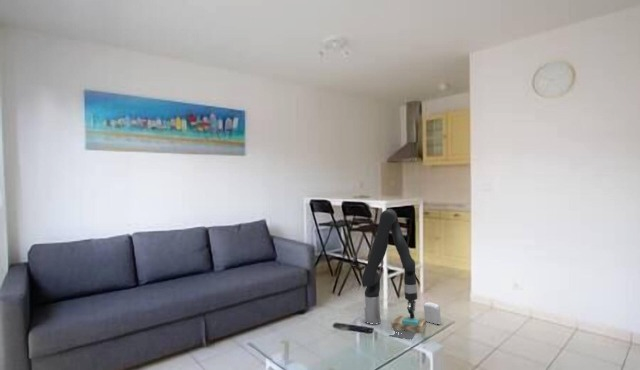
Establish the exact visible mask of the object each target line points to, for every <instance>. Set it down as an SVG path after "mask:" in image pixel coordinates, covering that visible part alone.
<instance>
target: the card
mask: <svg viewBox="0 0 640 370" xmlns="http://www.w3.org/2000/svg"><path fill="white" fill-rule="evenodd" d="M407 317H408V316H406V317H404V319H403V320H402V324H406V325H413V326H418V324H419V319H415V318H416V317H414V318H407Z"/></svg>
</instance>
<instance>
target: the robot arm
mask: <svg viewBox="0 0 640 370" xmlns="http://www.w3.org/2000/svg"><path fill="white" fill-rule="evenodd" d="M390 232H391V235H392V240H393V243H394V247H395V249H396V252H397V253H398V256H399V259H400V261H401V265H402V268H403V269H404V272H403V273H404V275H403V281H404V287H403V291H404V292H403V293H404V299H405V300H406V301H407V307H406V308H407V312H408V314H409V317H410V318H415V311H416V303H417V301H416V300H418V286H417V277H416V261H415V259H414V258H412V255H411V251H410V249H409V246H408V244H407V242H406V240H405V238H404V234H403V232H402V229H401V226H400V222H399V218H398V215H397V212H396V211H395V210H394V209H393V208H387V209H385V210H383V211H382V212H381V214H380V216H379V222H378V227H377V231H376V232H375V236H374V239H373V243H372V245H371V248H370V252H369V256H368V259H367V264H366V266H365V268H364V271H363V273H362V277H361V281H362V284H363V285H364V286H365V287H366V288H365V291H364V302H365V303H364V304H365V305H364V306H365V307H364V309H363V310H364V322H365V321H366V322H368V323H373V324H376V323H379V322H382V320H381V306H380V301H381V300H380V292H381V280H380V279H381V277H380V274H379V272H378V269H379V267H380V265H381V263H382V261H383V260H384V257H385V255H386V253H387V250H388V245H389V236H390V235H389V234H390ZM368 323H367V324H368ZM379 324H380V323H379ZM376 325H377V324H376Z"/></svg>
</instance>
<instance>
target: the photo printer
mask: <svg viewBox="0 0 640 370" xmlns="http://www.w3.org/2000/svg"><path fill="white" fill-rule="evenodd" d="M423 310H424V311H423V312H424V319H426V321H427V322H426V323H429V322H430V324H433V323H434V325H437V324H440V323H441V324H442V321H441V320H442V319H441V307H440V305H438V304H437V303H435V302H429V301H427V302H425V303H424V304H423ZM441 324H440V325H441Z"/></svg>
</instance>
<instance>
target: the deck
mask: <svg viewBox="0 0 640 370" xmlns="http://www.w3.org/2000/svg"><path fill="white" fill-rule="evenodd" d="M404 317H407V318H410V316H407V315H406V316H404V315H399V314H397V315H396V316H395V318H394V319H392V321H391V329H392V328H393V329H392V330H394V329H396V330H397V329H398V330H403V331H404V330H405V331H410V332H416V333H418V334H419V333H420V334H423V332H424V330H425V328H426V326H427V322H426V319H425V318H422V317H421V318H419V317H414V318H415V319H419V324H418V326H413V325H406V324H402V320H403V319H404Z"/></svg>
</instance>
